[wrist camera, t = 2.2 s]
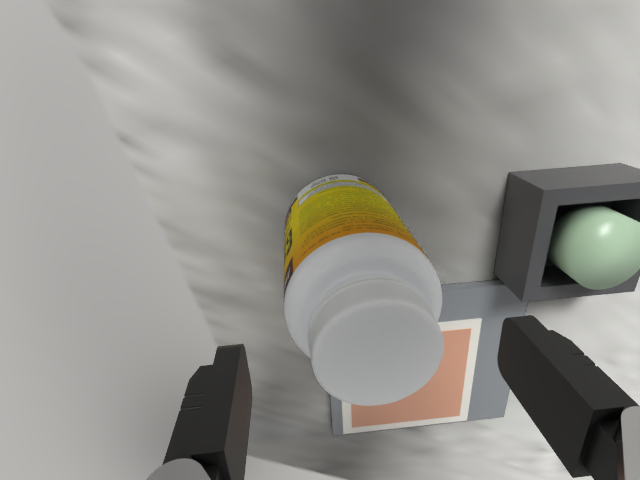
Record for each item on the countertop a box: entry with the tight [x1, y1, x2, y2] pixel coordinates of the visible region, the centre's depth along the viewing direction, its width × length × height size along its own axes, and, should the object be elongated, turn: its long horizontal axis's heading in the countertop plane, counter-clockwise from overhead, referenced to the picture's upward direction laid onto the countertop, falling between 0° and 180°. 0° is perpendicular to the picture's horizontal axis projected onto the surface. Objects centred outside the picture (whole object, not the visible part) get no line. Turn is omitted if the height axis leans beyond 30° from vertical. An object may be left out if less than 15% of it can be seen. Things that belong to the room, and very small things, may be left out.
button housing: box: [494, 163, 640, 302], centre depth 20 cm, size 6×6×3 cm
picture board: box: [330, 280, 527, 436], centre depth 25 cm, size 11×12×1 cm
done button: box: [547, 204, 640, 290], centre depth 18 cm, size 4×4×2 cm
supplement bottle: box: [284, 174, 444, 406], centre depth 16 cm, size 6×6×10 cm
